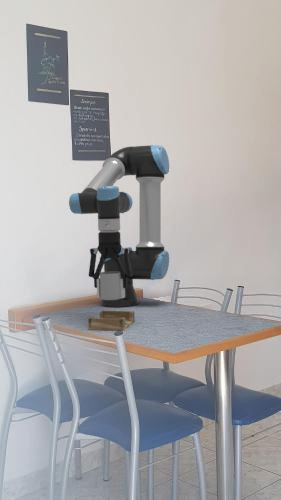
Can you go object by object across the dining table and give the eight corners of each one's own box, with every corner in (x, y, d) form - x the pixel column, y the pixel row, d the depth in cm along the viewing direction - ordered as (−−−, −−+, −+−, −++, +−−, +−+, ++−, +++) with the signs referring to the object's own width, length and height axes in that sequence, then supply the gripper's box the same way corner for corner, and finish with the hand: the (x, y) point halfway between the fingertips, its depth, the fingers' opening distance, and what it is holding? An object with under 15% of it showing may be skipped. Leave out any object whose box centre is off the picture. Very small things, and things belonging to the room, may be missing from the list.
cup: (105, 300, 217) (104, 274, 217) (94, 297, 226) (93, 271, 225) (125, 298, 220) (124, 272, 220) (113, 295, 229) (112, 270, 229)
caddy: (102, 321, 233) (102, 310, 232) (134, 321, 230) (134, 311, 229) (88, 329, 218) (88, 318, 218) (122, 330, 215) (122, 319, 215)
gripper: (77, 232, 220) (79, 298, 222) (135, 231, 215) (137, 299, 217) (84, 231, 227) (86, 295, 229) (141, 230, 222) (142, 296, 224)
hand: (111, 297), depth 223 cm, fingers closed on cup, 8 cm apart
